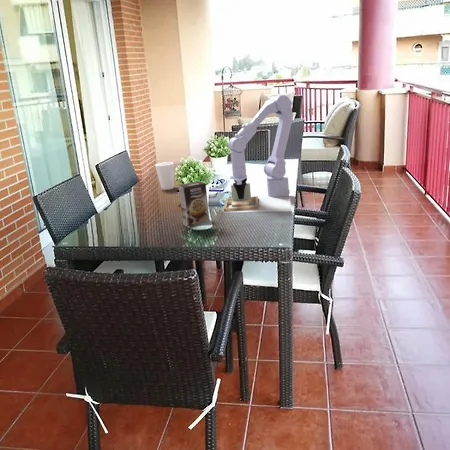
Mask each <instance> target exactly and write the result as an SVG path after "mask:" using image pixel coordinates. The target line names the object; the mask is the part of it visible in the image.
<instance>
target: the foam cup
mask: <svg viewBox="0 0 450 450" xmlns="http://www.w3.org/2000/svg"><path fill="white" fill-rule="evenodd" d="M174 169H175V164H174V162H173V161H164V162H159V163H156V164H155V170H156V173H157V177H158V180H159V184H160V188H161V190H163V191H167V190H172V189H174V187H175V181H174V180H175V170H174Z"/></svg>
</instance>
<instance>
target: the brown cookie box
mask: <svg viewBox="0 0 450 450" xmlns="http://www.w3.org/2000/svg"><path fill="white" fill-rule="evenodd" d="M178 191H179V193H178V194H179V199H180V208H181V217H182V218H181V219H182V224H183V226H185V227H187V228H188V229H191V228H195V227H199V226H201V224H198V223H203V222H206V221H210V211H209V204H208V195H207V183H206V182H203V181H193V182H189V183H183V184H178ZM193 224H194V225H193ZM195 224H196V225H195Z"/></svg>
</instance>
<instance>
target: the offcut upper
mask: <svg viewBox="0 0 450 450" xmlns="http://www.w3.org/2000/svg"><path fill="white" fill-rule="evenodd" d="M244 206H250V203H249V202H248V201H240V202H232V204H231V207H244Z"/></svg>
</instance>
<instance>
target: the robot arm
mask: <svg viewBox="0 0 450 450" xmlns="http://www.w3.org/2000/svg"><path fill="white" fill-rule="evenodd" d="M292 104H293V102H292V100H291V99H290V98H289V96H287V95H285V94H282V95H278V94H272V95H271V96H269V97H268V99H267V100H265V102H264V103H263V105H262V106H261V108H259V110H258V112H256V115H254V117H253V118H252V119H251V121H250V122H246V123H243V124H242V125H241V128H240V129H239V131H238V132H237V133H235V134H234V136H233V137H231V138H230V139H229V141H228V144H227V147H228V149H229V150H230V159H231V171H232V175H231V176H230V180H233V183H232V185H233V186H234V187H235V189H236V192H237V195H238V198H239V199H244V190H245V186H246V184H247V181H248V175H247V168H246V157H245V150H246V148H247V144H248V143H249V141H250V140H251V139H252V138H253V137H254V135H255V134H256V133H257V128H258V127H259V125H260V124H262V122H263V121H264V120H265V119H266V118H267V117H268V116H269V115H270V114H276V115H277V118H278V119H279V121H278V125H277V129H276V134H275V138H274V143H273V147H272V151H271V155H270V156H269V157H268V158H267V162H266V163H265V165H264V166H263V172H264V174H265V175H266V183H267V186H266V187H267V196H268V197H270V198H279V197H287V199H290V193H291V192H290V189H289V188H290V187H289V177H288V176H287V177H285V175H286V172H287V171H286V160H285V158H284V157H285V153H286V149H287V145H288V142H289V141H288V140H289V136H290V134H291V133H290V131H291V127H292V123H293V120H294V114H293V110H292V109H293V108H292Z"/></svg>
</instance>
